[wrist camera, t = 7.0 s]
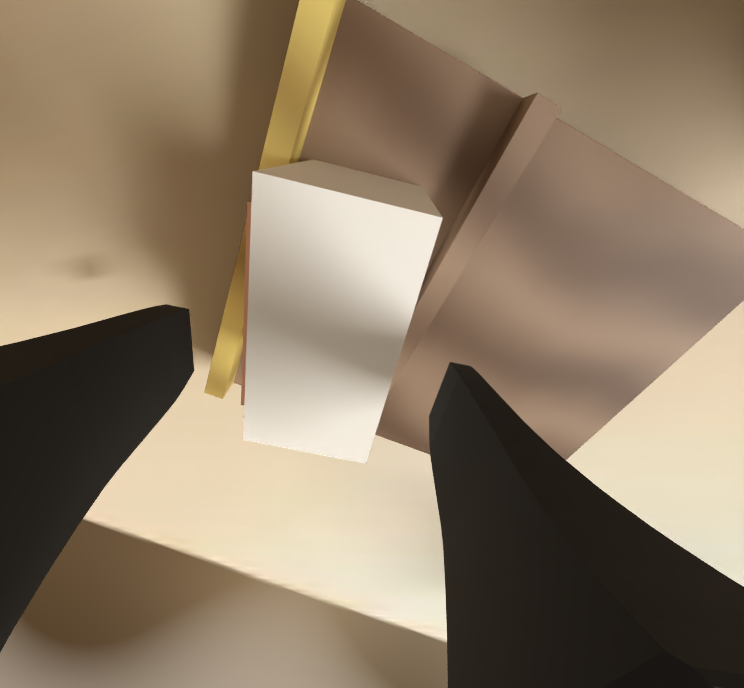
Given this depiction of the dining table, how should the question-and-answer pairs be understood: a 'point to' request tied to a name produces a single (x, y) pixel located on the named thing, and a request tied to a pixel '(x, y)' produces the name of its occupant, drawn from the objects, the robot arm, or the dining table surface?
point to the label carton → (328, 302)
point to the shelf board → (499, 232)
